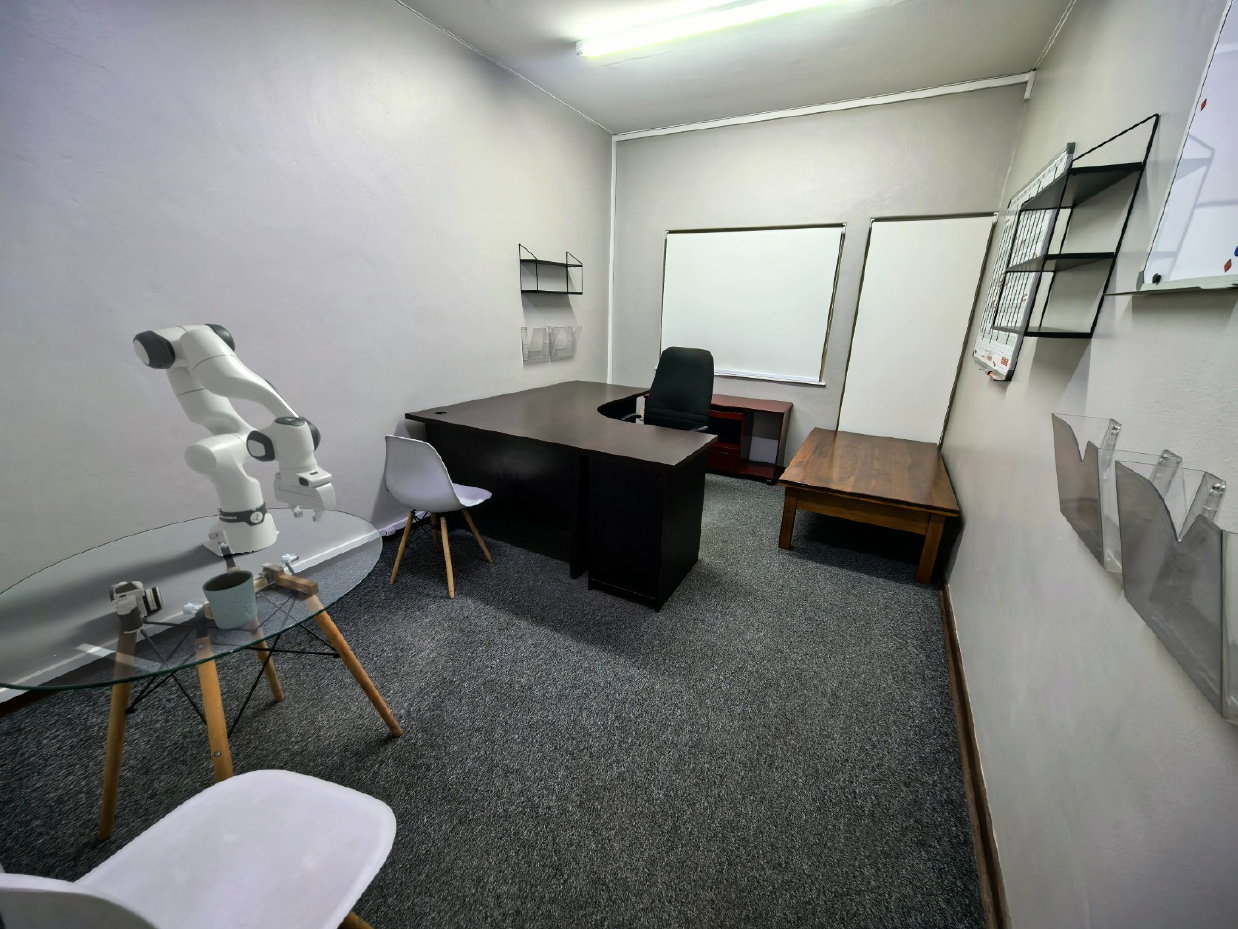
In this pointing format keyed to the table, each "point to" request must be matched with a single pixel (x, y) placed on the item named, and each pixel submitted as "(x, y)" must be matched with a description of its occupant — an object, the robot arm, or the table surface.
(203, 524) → the table surface
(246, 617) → the green ceramic pot
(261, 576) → the base
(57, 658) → the table surface
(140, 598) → the camera
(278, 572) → the tongs jaw
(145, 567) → the table surface
